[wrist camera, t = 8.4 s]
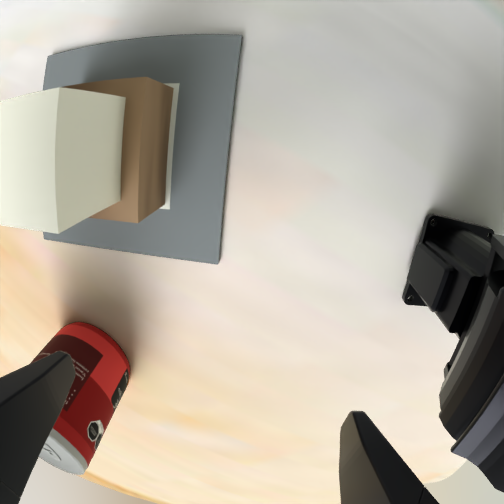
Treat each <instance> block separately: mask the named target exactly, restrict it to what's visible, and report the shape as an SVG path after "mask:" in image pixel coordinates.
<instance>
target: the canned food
mask: <svg viewBox="0 0 504 504" xmlns="http://www.w3.org/2000/svg"><path fill="white" fill-rule="evenodd" d="M57 351H63V352H66V353H68V354H70V356H71V358H72V361H73V365H74V368H75V378H74V381H73V383H72V385H71V388H70V390H69V393H68V395H67V398H66V400H65V403H64V405H63V408H62V410H61V412H60V414H59V417H58V418H57V420H56V422H55V424H54V426H53V428H52V430H51V432H50V434H49V436H48V438H47V440H46V442H45V444H44V446H43V448H42V451H41V453H40V455H39V457H40V458H41V459H43V460H44V461H46V462H48V463H49V464H51V465H53V466H55V467H56V468H59V469H61V470H63V471H66V472H68V473H72V474H76V475H82V474H84V472H85V470H86V469H87V468H88V466H89V463H90V461H91V459H92V458H93V456H94V453H95V451H96V449H97V447H98V445H99V443H100V441H101V438H102V436H103V434H104V432H105V430H106V428H107V426H108V424H109V422H110V420H111V418H112V416H113V414H114V411H115V409H116V407H117V405H118V403H119V401H120V399H121V397H122V395H123V393H124V391H125V389H126V387H127V385H128V383H129V377H130V366H129V362H128V360H127V358H126V356H125V354H124V352H123V351H122V349H121V348H120V347H119V346H118V344H117V343H116V342H115V341H114V340H113V339H112V338H111V337H110V336H109V335H107V334H106V333H105V332H103V331H102V330H100V329H98V328H97V327H95V326H93V325H90V324H87V323H83V322H74V323H71V324H69V325H66V326H64V327H63V328H62V329H60V331H59V332H58V333H57V334H56V335H55V336H54V337H53V338H52V339H51V340H50V342H49V343H48V344H47V345H46V346H45V347H44V348H43V349H42V351H41V352H40V353H39V354H38V355H37V356H36V357H35V359H34V360H33V361H32V362H31V363H33V362H35V361H37V360H40V359H42V358H44V357H46V356H48V355H50V354H52V353H55V352H57ZM31 363H30V364H31Z"/></svg>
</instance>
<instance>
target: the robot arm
mask: <svg viewBox="0 0 504 504" xmlns="http://www.w3.org/2000/svg"><path fill="white" fill-rule="evenodd" d="M433 219H434V223H433V224H432V225H431V220H433ZM488 233H489V235H488ZM487 235H488V237H487ZM407 280H408V281H407V284H406V287H405V290H404V293H403V296H402V299H403V301H404V302H405V303H406V304H407V305H417V306H428V307H429V309H430V310H431V311H432V312H435V313H436V315H437V316H438V317H439V319H440V320H441V322H442V323H443V324H444V326H445V327H446V328H447V330H448V331H449V332H450V333H455V334H456V335H457V337H458V338H459V339H460V340H459V342H458V344H457V347H456V349H455V351H454V353H453V355H452V357H451V359H450V362H448V363H447V364H446V366H445V368H444V377H445V380H444V382H443V384H442V387H441V391H440V394H439V397H440V408H441V412H440V413H439V417H440V419H441V421H442V424H443V426H444V427H445V429H446V430H447V431H448V432H449V434H450V435H451V436H452V437H453V438H454V439H455V440H456V443H455V444H454V445H453V446H452V447H451V452H452V453H454V454H457V455H459V456H461V457H464V458H466V459H468V460H469V461H471V462H472V463H473V464H475V465H476V466H477V467H479V469H480V470H481V471H482V472H483V473H484V474H485V476H486V477H487V479H488V480H489V481H490V483H491V484H492V485H493V486H494V488H495V489H497V490H500V491H502V492H504V236H502V235H494V231H493V230H492V229H490V228H488V227H484V226H481V225H477V224H473V223H469V222H465V221H461V220H457V219H453V218H449V217H445V216H441V215H436V214H429V215H428V216H427V217H426V219H425V222H424V226H423V230H422V234H421V237H420V241H419V244H418V245H417V247H416V250H415V254H414V257H413V260H412V264H411V267H410V270H409V273H408V276H407ZM411 295H412V296H411ZM409 296H411V298H409V299H407V298H408V297H409ZM74 378H75V368H74V365H73V361H72V358H71V356H70V354H68V353H66V352H63V351H57V352H55V353H52V354H50V355H48V356H46V357H44V358H42V359H40V360H37V361H35V362H33V363H31V364H29V365H27V366H25V367H22V368H20V369H18V370H16V371H14V372H12V373H9V374H7V375H5V376H3V377H1V378H0V504H18V503H19V501H20V497H21V495H22V493H23V491H24V488H25V486H26V483H27V481H28V479H29V477H30V474H31V472H32V470H33V468H34V465H35V463H36V461H37V459H38V457H39V455H40V453H41V451H42V448H43V446H44V444H45V442H46V440H47V438H48V436H49V434H50V432H51V430H52V428H53V426H54V424H55V422H56V420H57V418H58V417H59V414H60V412H61V410H62V408H63V405H64V403H65V400H66V398H67V395H68V393H69V390H70V388H71V385H72V383H73V381H74ZM339 480H340V494H341V504H439V503H438V502H437V500H436V499H434V497H433V496H432V495H431V494H430V492H429V491H428V490H427V489H426V488H425V487H424V485H423V484H422V483H421V481H420V480H419V479H418V478H417V477H416V475H415V474H414V473H413V472H412V470H411V469H410V468H409V467H408V465H407V464H406V463H405V462H404V461H403V459H402V458H401V457H400V456H399V454H398V453H397V452H396V451H395V449H394V448H393V447H392V446H391V444H390V443H389V442H388V441H387V439H386V438H385V437H384V436H383V434H382V433H381V432H380V431H379V429H378V428H377V427H376V426H375V424H374V423H373V422H372V421H371V419H370V418H369V417H368V416H367V414H366V413H365V412H363V411H351V412H350V413H349V414H348V416H347V418H346V420H345V421H344V423H343V425H342V427H341V431H340V459H339Z"/></svg>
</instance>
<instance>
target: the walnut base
mask: <svg viewBox="0 0 504 504" xmlns="http://www.w3.org/2000/svg"><path fill="white" fill-rule="evenodd" d="M62 88H70V89H78V90H85V91H92V92H98V93H104V94H110V95H116V96H121V97H126V101H125V111H124V122H123V136H122V154H121V195H120V201H119V202H117V203H115V204H113V205H111V206H109V207H107V208H105V209H103V210H101V211H99V212H97V213H96V214H94V215H92V216H90V217H88V218H95V219H104V220H114V221H123V222H132V223H139V222H140V221H142V220H143V219H145V218H146V217H148V216H149V215H150V214H152V213H153V212H155V211H156V210H158V209H159V208H160V207H162V206H163V205H165V194H166V172H167V156H168V142H169V130H170V118H171V108H172V99H173V90H174V88H172V87H170V86H168V85H165V84H163V83H161V82H158V81H156V80H153V79H151V78H148V77H136V78H123V79H113V80H104V81H96V82H89V83H82V84H76V85H70V86H64V87H62Z"/></svg>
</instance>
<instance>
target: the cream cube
mask: <svg viewBox="0 0 504 504" xmlns="http://www.w3.org/2000/svg"><path fill="white" fill-rule="evenodd" d="M125 101H126V97H121V96H116V95H110V94H104V93H98V92H92V91H85V90H78V89H70V88H62V87H58V88H53V89H48V90H43V91H39V92H34V93H30V94H26V95H22V96H18V97H14V98H11V99H7V100H3V101H0V225H2V226H9V227H15V228H22V229H29V230H36V231H42V232H49V233H56V234H59V233H61V232H63V231H65V230H66V229H68V228H70V227H72V226H73V225H75V224H77V223H79V222H81V221H83V220H84V219H86V218H88V217H90V216H92V215H94V214H96V213H97V212H99V211H101V210H103V209H105V208H107V207H109V206H111V205H113V204H115V203H117V202H119V201H120V195H121V154H122V136H123V122H124V111H125Z"/></svg>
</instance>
